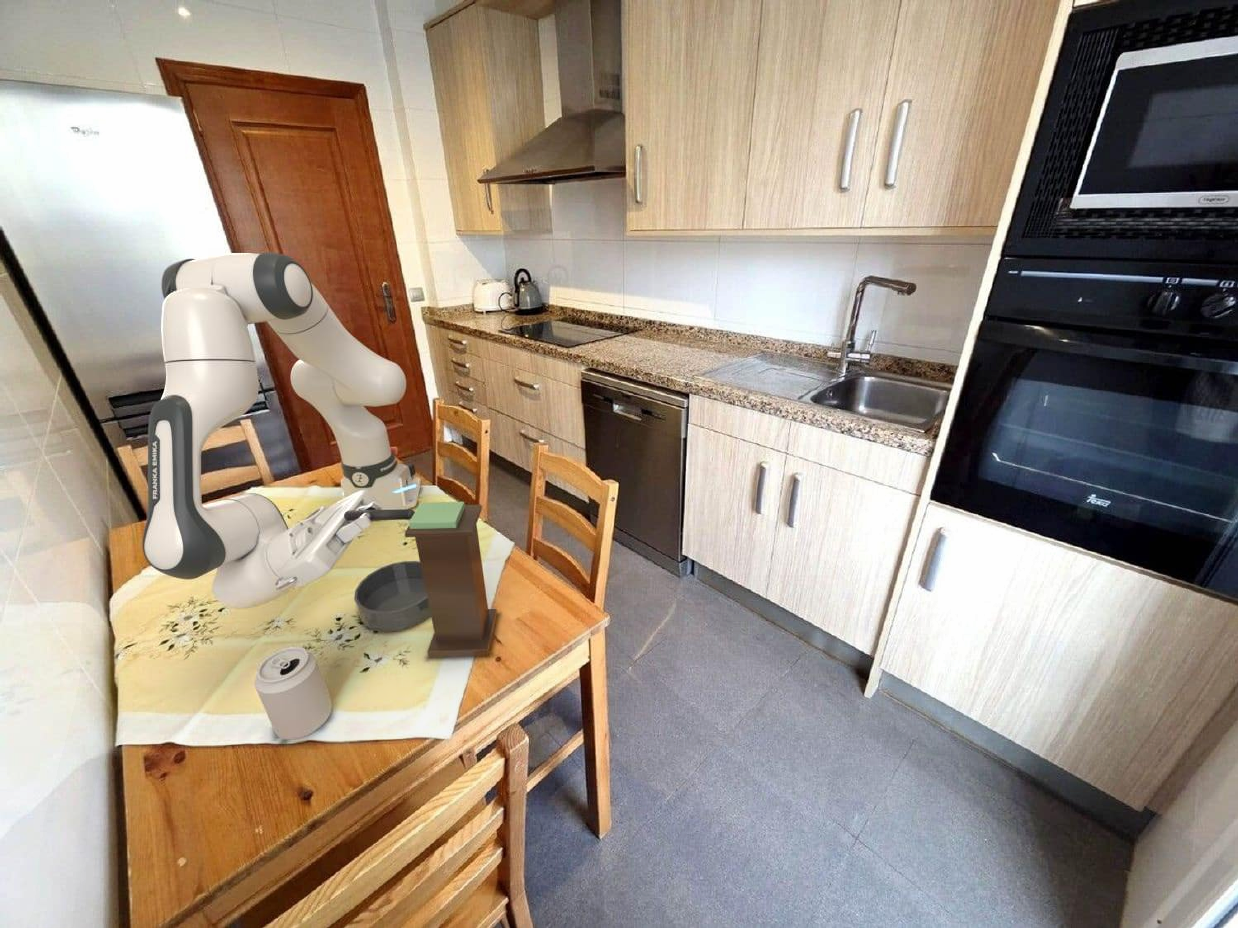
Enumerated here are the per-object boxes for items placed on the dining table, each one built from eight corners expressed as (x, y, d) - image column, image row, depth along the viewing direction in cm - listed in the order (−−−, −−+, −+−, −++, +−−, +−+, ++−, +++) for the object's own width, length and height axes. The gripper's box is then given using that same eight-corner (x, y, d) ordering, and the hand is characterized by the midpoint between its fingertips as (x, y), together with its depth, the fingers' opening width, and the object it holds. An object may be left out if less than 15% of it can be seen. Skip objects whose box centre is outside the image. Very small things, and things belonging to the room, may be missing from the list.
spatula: (336, 530, 76) (334, 521, 75) (353, 509, 81) (351, 501, 80) (456, 528, 77) (454, 519, 76) (465, 507, 82) (463, 499, 81)
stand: (443, 616, 95) (422, 502, 84) (497, 614, 95) (482, 501, 84) (428, 658, 86) (402, 536, 75) (487, 656, 86) (470, 535, 75)
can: (308, 748, 71) (284, 688, 66) (263, 737, 72) (236, 679, 67) (344, 703, 78) (325, 646, 72) (302, 694, 79) (280, 637, 74)
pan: (377, 579, 104) (372, 561, 102) (450, 577, 105) (447, 559, 103) (345, 633, 91) (340, 614, 89) (430, 630, 91) (426, 611, 89)
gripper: (252, 579, 70) (328, 536, 68) (321, 504, 88) (383, 468, 86) (286, 608, 73) (360, 568, 70) (347, 529, 91) (408, 495, 88)
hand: (373, 512), depth 78 cm, fingers closed
